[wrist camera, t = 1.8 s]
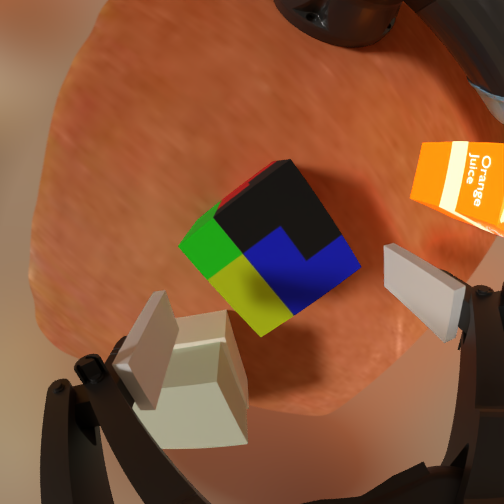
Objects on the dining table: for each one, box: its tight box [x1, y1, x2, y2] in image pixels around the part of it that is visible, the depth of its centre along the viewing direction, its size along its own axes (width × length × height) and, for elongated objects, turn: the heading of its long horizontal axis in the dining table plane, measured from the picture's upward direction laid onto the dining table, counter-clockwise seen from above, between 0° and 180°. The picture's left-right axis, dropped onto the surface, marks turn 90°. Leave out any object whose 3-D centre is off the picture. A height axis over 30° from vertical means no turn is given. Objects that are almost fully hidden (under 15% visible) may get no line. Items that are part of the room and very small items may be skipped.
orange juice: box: [410, 141, 504, 237], centre depth 19 cm, size 8×9×20 cm
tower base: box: [173, 310, 249, 409], centre depth 32 cm, size 12×12×6 cm
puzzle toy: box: [178, 159, 361, 337], centre depth 25 cm, size 10×10×10 cm
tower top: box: [132, 342, 248, 449], centre depth 26 cm, size 11×11×6 cm
